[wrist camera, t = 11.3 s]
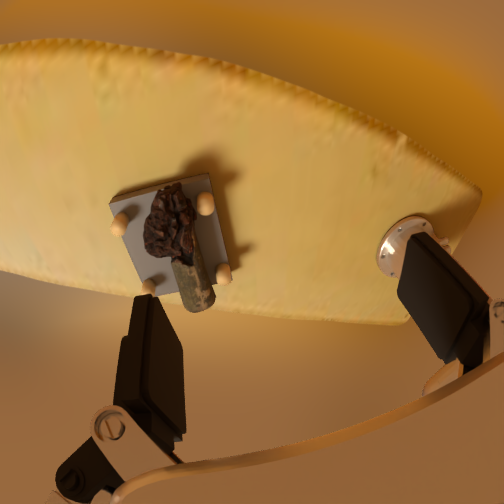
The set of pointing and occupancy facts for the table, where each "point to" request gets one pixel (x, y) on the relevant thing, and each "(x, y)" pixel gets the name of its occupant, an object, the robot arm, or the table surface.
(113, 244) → the table surface
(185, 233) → the dark elongated piece
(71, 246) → the table surface
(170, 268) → the pipe stand
